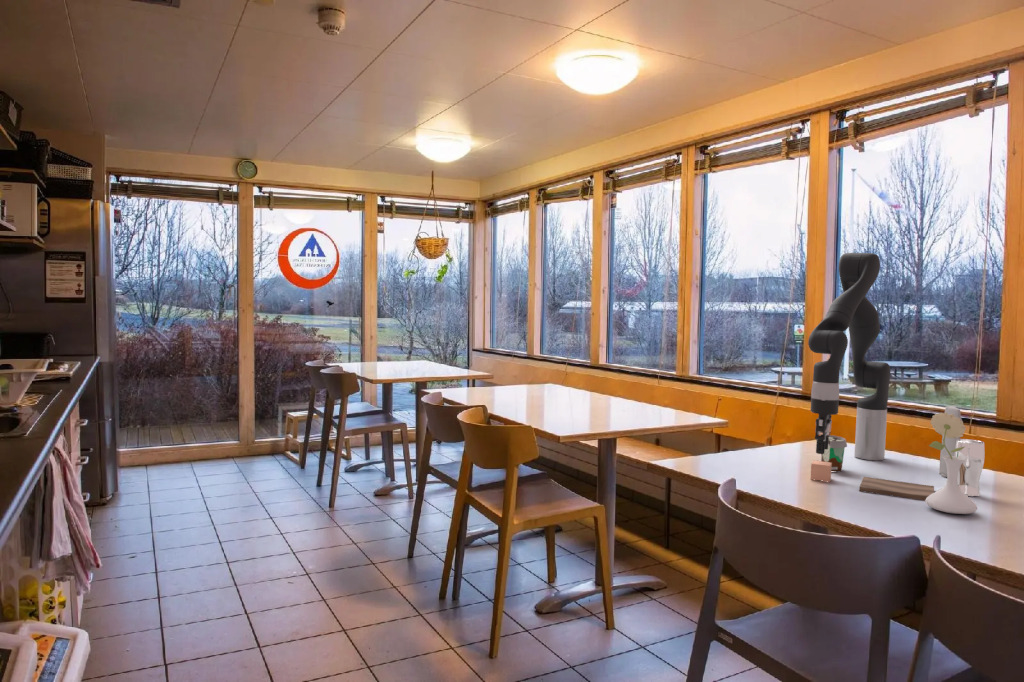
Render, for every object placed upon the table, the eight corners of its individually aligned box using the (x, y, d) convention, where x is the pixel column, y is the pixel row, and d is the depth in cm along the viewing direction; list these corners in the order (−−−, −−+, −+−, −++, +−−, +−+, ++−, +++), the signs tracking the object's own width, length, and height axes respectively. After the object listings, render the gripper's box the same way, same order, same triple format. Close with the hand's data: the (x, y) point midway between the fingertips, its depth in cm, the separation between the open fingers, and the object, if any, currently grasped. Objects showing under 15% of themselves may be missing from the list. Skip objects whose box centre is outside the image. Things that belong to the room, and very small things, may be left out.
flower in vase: (988, 516, 175) (994, 417, 174) (952, 519, 172) (959, 418, 170) (942, 501, 187) (948, 409, 186) (908, 504, 184) (914, 410, 183)
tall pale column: (964, 481, 210) (969, 409, 209) (950, 480, 211) (954, 408, 210) (947, 472, 221) (951, 403, 220) (933, 472, 221) (937, 403, 220)
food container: (850, 474, 216) (852, 442, 215) (829, 473, 217) (830, 441, 216) (840, 465, 228) (841, 435, 227) (820, 464, 229) (821, 434, 228)
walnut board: (863, 480, 208) (863, 476, 208) (933, 490, 199) (934, 486, 199) (859, 491, 196) (859, 486, 196) (933, 501, 187) (934, 497, 187)
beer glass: (946, 491, 198) (949, 439, 197) (963, 489, 200) (966, 438, 200) (971, 498, 191) (974, 444, 190) (987, 496, 194) (991, 442, 193)
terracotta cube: (812, 476, 212) (813, 460, 212) (830, 479, 210) (831, 462, 209) (810, 480, 208) (811, 463, 208) (828, 482, 205) (829, 465, 205)
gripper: (814, 394, 215) (812, 446, 216) (807, 398, 203) (804, 453, 204) (841, 396, 212) (838, 449, 212) (836, 400, 199) (833, 457, 200)
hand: (822, 451), depth 208 cm, fingers open, 8 cm apart
